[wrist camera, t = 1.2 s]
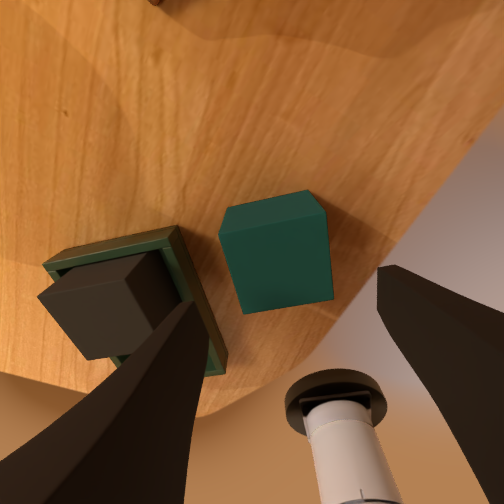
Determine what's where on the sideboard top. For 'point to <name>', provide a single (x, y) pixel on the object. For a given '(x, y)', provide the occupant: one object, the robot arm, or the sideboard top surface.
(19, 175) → the sideboard top surface
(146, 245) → the frame
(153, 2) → the figurine
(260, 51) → the sideboard top surface
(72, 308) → the dark brown block
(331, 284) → the teal green block
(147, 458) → the robot arm
